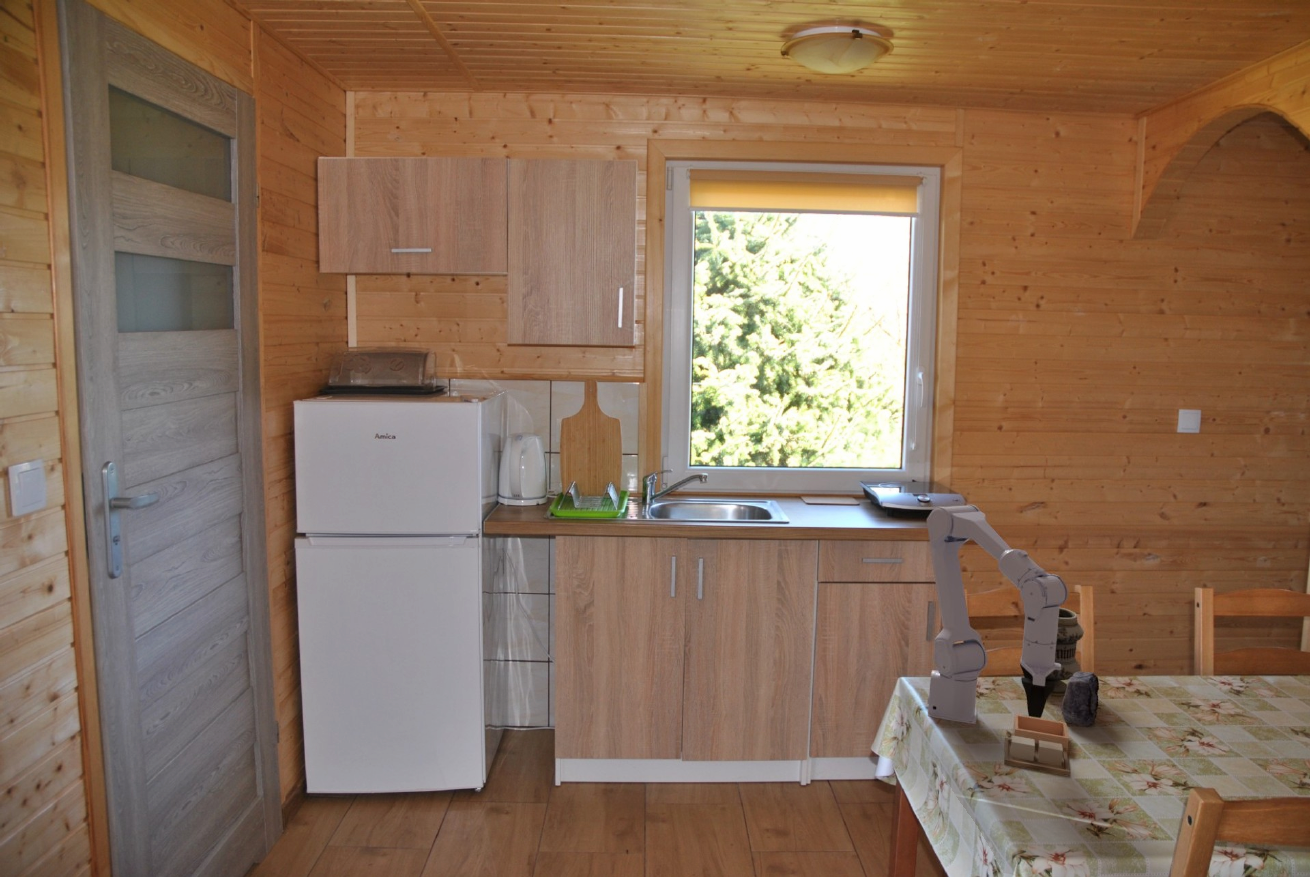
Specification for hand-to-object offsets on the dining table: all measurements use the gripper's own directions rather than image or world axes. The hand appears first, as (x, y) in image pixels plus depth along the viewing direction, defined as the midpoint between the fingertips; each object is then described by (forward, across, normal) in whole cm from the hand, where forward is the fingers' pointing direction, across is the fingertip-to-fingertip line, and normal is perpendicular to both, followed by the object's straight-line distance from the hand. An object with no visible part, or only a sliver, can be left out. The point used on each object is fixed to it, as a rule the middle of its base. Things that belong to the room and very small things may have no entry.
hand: (1033, 708), depth 173 cm
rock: (+10, +22, -10) cm, 26 cm away
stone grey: (+9, -1, +1) cm, 9 cm away
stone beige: (+9, -1, -3) cm, 10 cm away
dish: (+10, +8, -2) cm, 12 cm away
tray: (+9, -1, -1) cm, 10 cm away
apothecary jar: (+10, +39, -6) cm, 40 cm away
